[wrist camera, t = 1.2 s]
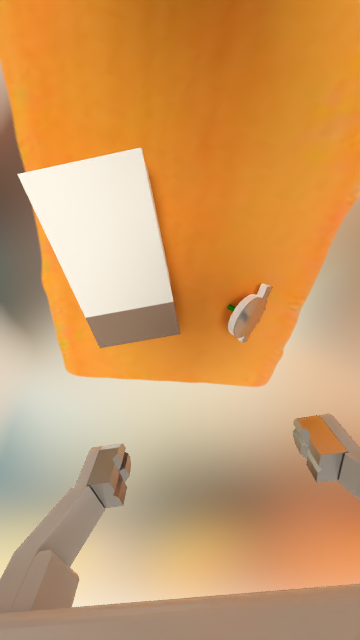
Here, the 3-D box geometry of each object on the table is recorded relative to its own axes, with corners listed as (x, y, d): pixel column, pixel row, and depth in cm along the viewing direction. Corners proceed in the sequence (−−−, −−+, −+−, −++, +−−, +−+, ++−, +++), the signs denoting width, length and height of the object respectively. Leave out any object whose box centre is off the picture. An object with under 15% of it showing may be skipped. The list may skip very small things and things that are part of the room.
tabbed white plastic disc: (251, 338, 52) (242, 358, 43) (223, 326, 55) (209, 342, 46) (276, 285, 45) (272, 296, 36) (243, 274, 48) (232, 282, 39)
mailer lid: (29, 177, 29) (17, 174, 27) (143, 152, 28) (141, 147, 26) (103, 340, 44) (99, 348, 42) (179, 327, 43) (180, 333, 41)
